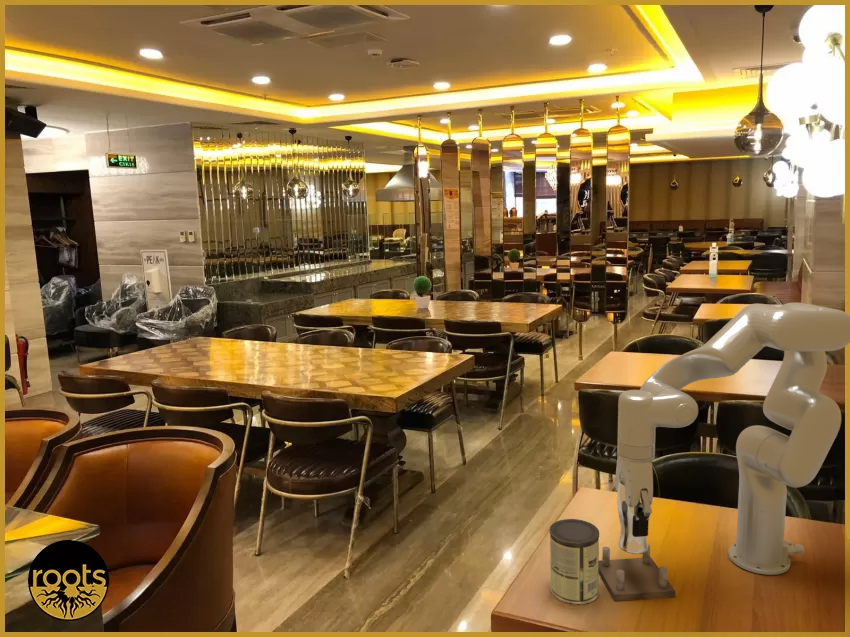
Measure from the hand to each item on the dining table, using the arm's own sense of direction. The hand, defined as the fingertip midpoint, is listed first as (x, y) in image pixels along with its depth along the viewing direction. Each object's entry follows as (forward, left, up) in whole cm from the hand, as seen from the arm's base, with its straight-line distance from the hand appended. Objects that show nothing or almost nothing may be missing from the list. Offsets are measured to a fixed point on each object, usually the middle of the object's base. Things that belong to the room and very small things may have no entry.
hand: (633, 526), depth 138 cm
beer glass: (0, 0, -5) cm, 5 cm away
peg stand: (0, 0, -13) cm, 13 cm away
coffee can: (+14, +2, -13) cm, 19 cm away
